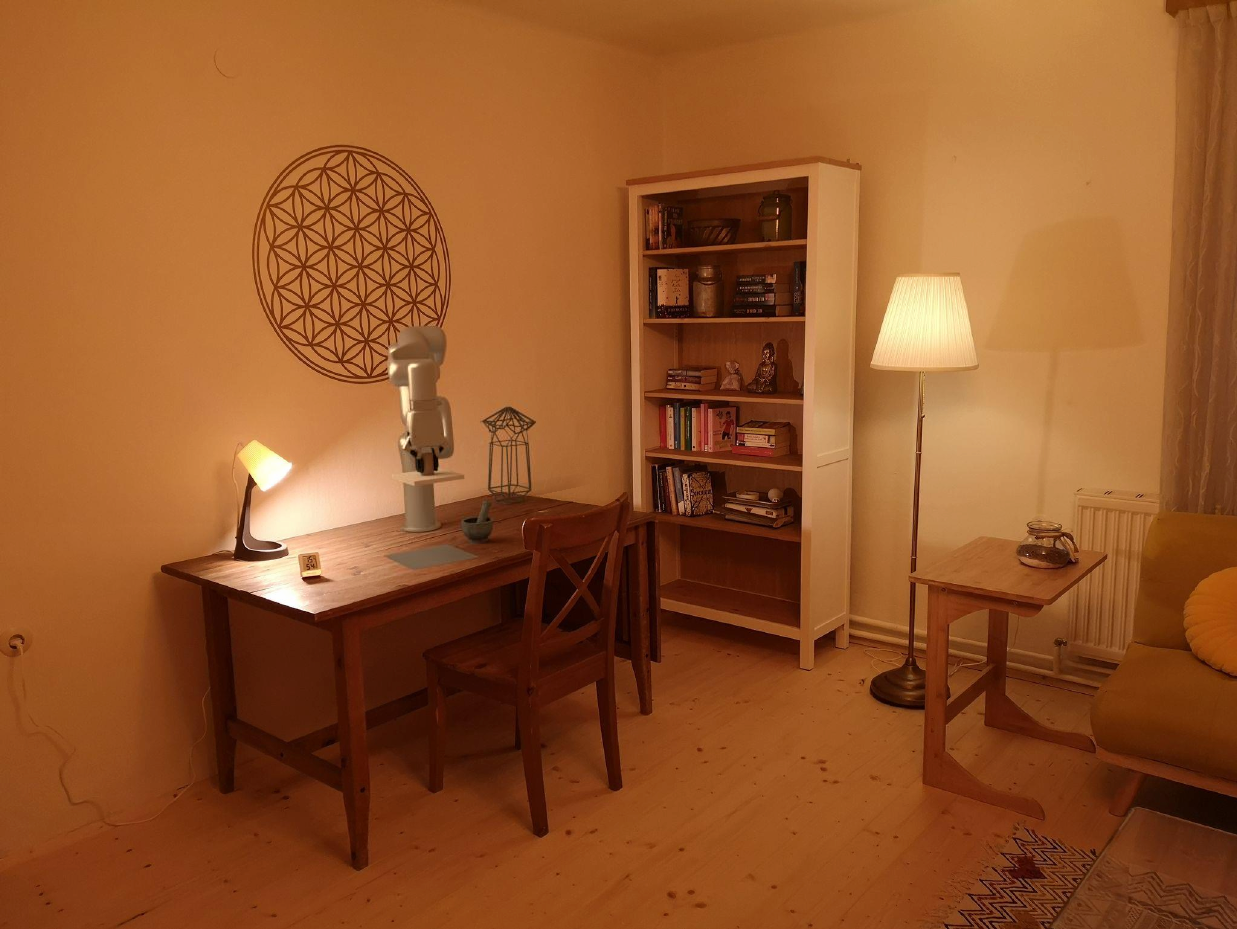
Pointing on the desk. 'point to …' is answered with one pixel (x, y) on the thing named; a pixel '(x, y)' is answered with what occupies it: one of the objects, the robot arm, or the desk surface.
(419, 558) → the slate mat
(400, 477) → the cover board
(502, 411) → the geometric lantern
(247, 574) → the desk surface
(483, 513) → the mortar and pestle
